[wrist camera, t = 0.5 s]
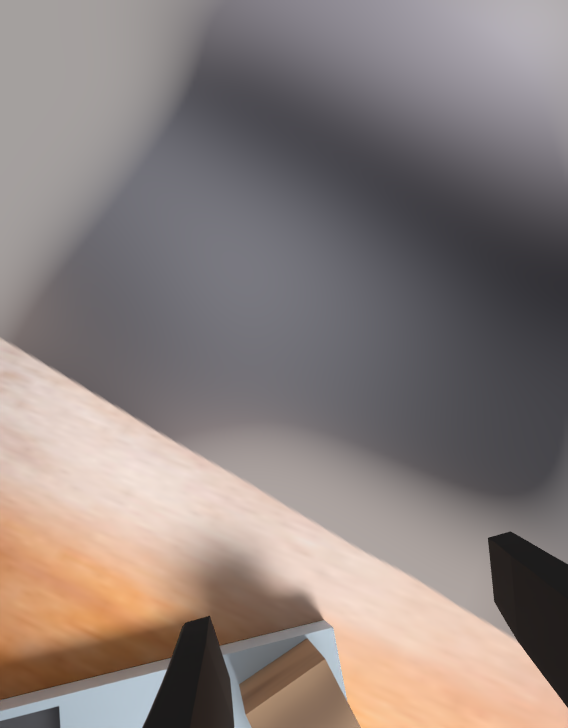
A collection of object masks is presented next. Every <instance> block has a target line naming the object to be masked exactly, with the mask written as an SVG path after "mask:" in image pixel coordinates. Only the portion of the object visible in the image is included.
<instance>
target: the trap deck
mask: <svg viewBox="0 0 568 728" xmlns="http://www.w3.org/2000/svg"><path fill="white" fill-rule="evenodd" d="M307 638H308V640H309V641H310V642H311V643H312V644H313V645H314V646H315V648H316V649H317V650H318V651H319V652H320V653H321V654H322V656H323V657H324V658H325V659H326V661H327V663H328V665H329V667H330V669H331V671H332V673H333V675H334V677H335V679H336V681H337V683H338V685H339V686H340V688H341V690H342V692H343V694H344V696H345V698H346V700H347V697H346V692H345V687H344V682H343V676H342V671H341V666H340V661H339V656H338V650H337V645H336V640H335V635H334V630H333V627H332V626H331V625H330V624H328V623H327V622H326V621H325V620H322V621H318V622H314V623H310V624H306V625H302V626H298V627H294V628H290V629H286V630H282V631H278V632H274V633H270V634H265V635H261V636H257V637H253V638H249V639H245V640H241V641H237V642H233V643H229V644H225V645H221V646H220V649H221V652H222V655H223V658H224V661H225V664H226V667H227V670H228V673H229V676H230V682H231V692H232V703H233V714H234V728H252V727H251V725H250V723H249V721H248V719H247V717H246V714H245V710H244V705H243V701H242V696H241V692H240V687H239V684H240V683H242V682H243V681H245V680H246V679H248V678H249V677H251V676H252V675H254V674H255V673H257V672H258V671H259V670H261V669H262V668H264V667H265V666H267V665H268V664H270V663H271V662H273V661H274V660H276V659H277V658H279V657H280V656H282V655H283V654H284V653H286V652H287V651H289V650H290V649H292V648H293V647H295V646H296V645H298V644H299V643H301V642H302V641H304V640H305V639H307ZM170 660H171V658H168V659H164V660H160V661H156V662H152V663H148V664H144V665H140V666H136V667H132V668H128V669H124V670H120V671H116V672H112V673H108V674H104V675H100V676H96V677H92V678H88V679H83V680H79V681H75V682H71V683H67V684H63V685H59V686H55V687H51V688H47V689H43V690H39V691H35V692H31V693H27V694H23V695H19V696H15V697H11V698H7V699H3V700H0V728H142V727H143V725H144V723H145V720H146V718H147V716H148V714H149V712H150V709H151V707H152V705H153V702H154V700H155V697H156V695H157V693H158V690H159V688H160V686H161V683H162V681H163V678H164V676H165V673H166V671H167V668H168V666H169V663H170Z"/></svg>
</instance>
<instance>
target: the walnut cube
mask: <svg viewBox="0 0 568 728" xmlns="http://www.w3.org/2000/svg"><path fill="white" fill-rule="evenodd" d="M239 687H240V692H241V696H242V701H243V705H244V710H245V714H246V717H247V719H248V721H249V723H250V725H251V727H252V728H361V727H360V725H359V723H358V722H357V720H356V718H355V716H354V714H353V712H352V710H351V708H350V706H349V704H348V702H347V700H346V698H345V696H344V694H343V692H342V690H341V688H340V686H339V685H338V683H337V681H336V679H335V677H334V675H333V673H332V671H331V669H330V667H329V665H328V663H327V661H326V659H325V658H324V657H323V656H322V654H321V653H320V652H319V651H318V650H317V649H316V648H315V646H314V645H313V644H312V643H311V642H310V641H309V640H308V638H307V639H305V640H304V641H302V642H301V643H299V644H298V645H296V646H295V647H293V648H292V649H290V650H289V651H287V652H286V653H284V654H283V655H282V656H280V657H279V658H277V659H276V660H274V661H273V662H271V663H270V664H268V665H267V666H265V667H264V668H262V669H261V670H259V671H258V672H257V673H255V674H254V675H252V676H251V677H249V678H248V679H246V680H245V681H243V682H242V683H240V684H239Z"/></svg>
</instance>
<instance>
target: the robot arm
mask: <svg viewBox="0 0 568 728" xmlns="http://www.w3.org/2000/svg"><path fill="white" fill-rule="evenodd" d="M488 543H489V553H490V562H491V572H492V582H493V593H494V602H495V603H496V605H497V607H498V609H499V610H500V612H501V614H502V615H503V617H504V619H505V621H506V622H507V624H508V626H509V627H510V629H511V631H512V632H513V634H514V636H515V637H516V639H517V641H518V642H519V643H520V645H521V646H522V647H523V649H524V650H525V652H526V653H527V654H528V656H529V657H530V658H531V660H532V661H533V662H534V664H535V665H536V666H537V668H538V669H539V670H540V672H541V673H542V674H543V676H544V677H545V678H546V680H547V681H548V682H549V684H550V685H551V686H552V687H553V689H554V690H555V691H556V693H557V694H558V695H559V697H560V698H561V699H562V701H563V702H564V703H565V705H566V706H567V707H568V564H566V563H564V562H563V561H561V560H559V559H557V558H556V557H554V556H552V555H550V554H549V553H547V552H545V551H543V550H542V549H540V548H538V547H537V546H535V545H533V544H531V543H530V542H528V541H526V540H524V539H523V538H521V537H519V536H517V535H516V534H514V533H512V532H508V533H504V534H500V535H497V536H493V537H489V538H488ZM142 728H234V714H233V703H232V692H231V682H230V676H229V673H228V670H227V667H226V664H225V661H224V658H223V655H222V652H221V649H220V646H219V643H218V640H217V637H216V634H215V630H214V627H213V624H212V621H211V618H210V616H208V617H204V618H201V619H197V620H194V621H190V622H187V623H185V624H184V626H183V627H182V629H181V632H180V635H179V638H178V641H177V644H176V647H175V649H174V652H173V655H172V658H171V660H170V663H169V666H168V668H167V671H166V673H165V676H164V678H163V681H162V683H161V686H160V688H159V690H158V693H157V695H156V697H155V700H154V702H153V705H152V707H151V709H150V712H149V714H148V716H147V718H146V720H145V723H144V725H143V727H142Z"/></svg>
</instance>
